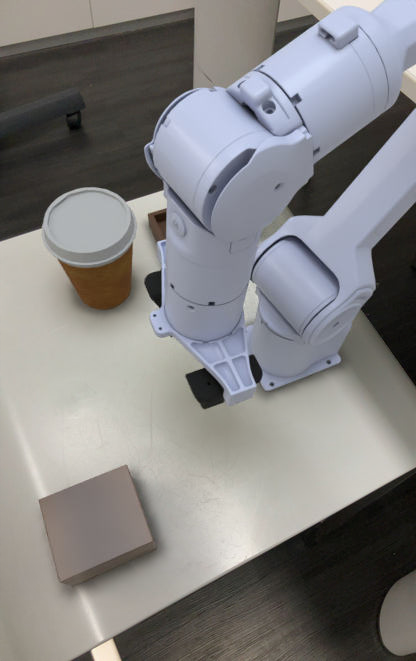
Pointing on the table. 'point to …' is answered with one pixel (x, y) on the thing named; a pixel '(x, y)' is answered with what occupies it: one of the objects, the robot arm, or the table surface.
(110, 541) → the grey brown block
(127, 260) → the disposable coffee cup
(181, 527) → the table surface
